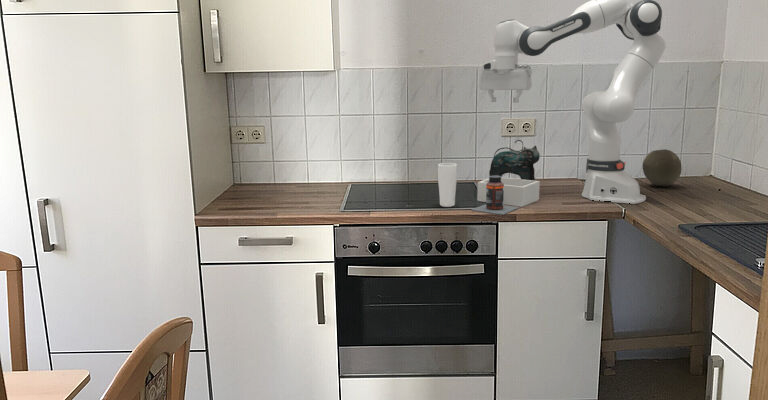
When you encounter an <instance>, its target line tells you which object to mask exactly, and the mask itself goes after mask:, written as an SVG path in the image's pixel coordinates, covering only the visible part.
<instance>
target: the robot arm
mask: <svg viewBox="0 0 768 400" xmlns="http://www.w3.org/2000/svg"><path fill="white" fill-rule="evenodd" d="M662 19H663V9H662V7H661V5H660V4H659V3H658V2H657V1H655V0H640V1H638V2H636V3H635V4H633V3H631V1H630V0H588V1H587V2H585V3H583V4H581V5H579V6H577V8H575V10H574V11H573V13H571V14H570V15H569V16H567V17H565V18H563V19H561V20H558V21H556V22H554V23H552V24H548V25H546V26H545V25H544V26H530V27H528V26H527V25H525V24H523V23H521V22H519V21H518V20H517V19H514V18H513V19H506V20H504V21H500V22H498V23H497V24H496V27H495V30H494V36H493V37H494V38H493V39H494V40H493V46H494V54H493V60H490V61H488V62H485V63H482V64H481V70H482V71H481V72H480V73H479V83H478V84H479V85H478V86H479V89H480V90H482V91H483V90H484V91H486V90H487V94H488V96H489V97H490V102H491V103H496V102H497V97H495V95H494V92H495V91H515V93H516V95H515V97H513V99H512V100H513V101H512V102H513V103H516V104H517V103H519V102H520V97H521V96H522V94H523V91H529V90H531V89H532V76H531V75H532V67H531V66H529V65H528V64H519V63H518V61H519V60H518V59H519V54H522V55H525V56H530V57H537V56H540V55H541V54H543V53H544V52H545V51H546V50H547V49H548V48H549V47H550V46H551V45H553V44H555V43H556V42H559V41H561V40H564V39H566V38H568V37H570V36H573V35H577V34H583V35H585V34H589V33H593V32H596V31H599V30H602V29H605V28H608V27H609V26H612V25H616V27H617V28H618V29H619V31H621V34H622V35H623V36H624V37H625V38H627V39H628V40H631V41H633V42H632V45H631V46H630V47H629V49H628V51H627V52H626V54H625V55H624V56H623V58H622V59H621V61H620V62H619V63H618V64H617V66H616V67H615V69H614V70H613V72H612V80H611V82H610V84H609V87H608V88H607V89H606V90H596V91H592V92H591V93H589V94H587V95H586V96H585V97H584V98H583V101H582V104H581V108H582V111H583V113H584V115H585V120H586V125H587V132H588V151H587V152H588V154H587V156H588V157H587V159H586V163H585V165H586V166H585V172H586V176H585V177H586V178H585V182H584V187H583V189H582V193H581V197H583V198H585V199H588V200H590V201H592V200H594V202H604V201H611V202H610V203H618V204H620V203H621V204H629V203H630V204H632V205H635V204H641V203H643V202H645V201H646V200H647V197H646V196H647V195H644V194H641V187H640V184H639V181H637V180H636V179H635V177H633V176H632V175H631V174H629V172H627V171H626V170H625V168H626V167H625V166H626V163H627V162H626V161H623V160H622V159H620V157H621V147H622V146H621V144H622V140H621V136H620V133H619V132H618V127H617V124H619V123H623V122H625V121H627V120H629V119H630V118H631V117H632V115H633V114H634V112H635V101H636V98H637V95H638V93H639V91H640V89H641V87H642V86H643V84H644V83H645V81H646V80H647V78H649V76H650V75H651V73H652V72H653V70H654V69H655V68H656V67H657V65H658V63H659V62H660V59H661V58H662V56H663V54H664V52H665V49H666V47H667V45H666V41H665V39H664V37H662V36H661V35H660V34H658V33H659V32H660V31H661V26H662V25H661V24H662ZM599 200H600V201H599ZM630 204H629V205H630Z"/></svg>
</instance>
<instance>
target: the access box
mask: <svg viewBox="0 0 768 400" xmlns="http://www.w3.org/2000/svg"><path fill="white" fill-rule="evenodd" d="M488 182H489V178H487V179H483V180H481V181H478V182H477V198H476V199H477V201H478V202H485V203H486V185H487V183H488ZM501 182H502V183H503V184H504V201H503V205H505V206H512V207H519V208H520V207H521V208H523V207H527V206H528V205H531V204H533V203H535V202H538V201H539V200H540V188H541V187H540V185H541V181H540V180H535V181H533V180H523V179H521V178H513V177H503V176H502V177H501Z"/></svg>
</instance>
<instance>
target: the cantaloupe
mask: <svg viewBox="0 0 768 400" xmlns="http://www.w3.org/2000/svg"><path fill="white" fill-rule="evenodd" d="M682 169H683V168H682V163H681V160H680V157H679V156H678V155H677V153H675V152H674V151H672V150H671V149H656V150H652V151H650V152H649V153H647V155H646V156H645V157H644V159H643V161H642V172H643V174H644V177H645V178H646V179H647V181H649V183H651V184H653V185H655V186H657V187H668V186H671V185H673V184H675V183H676V182H677V181H678V180H679V179H680V176H681V174H682Z"/></svg>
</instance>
